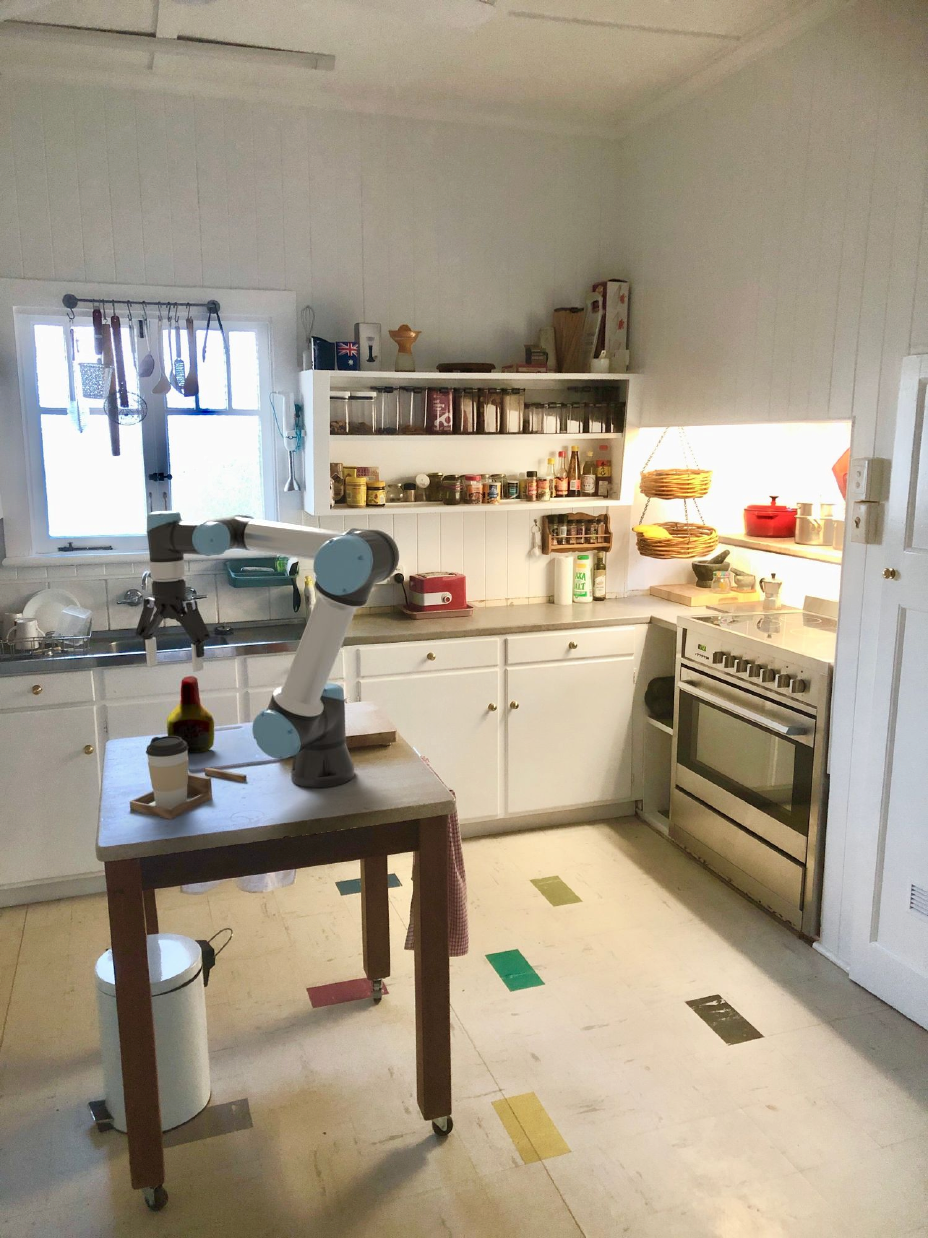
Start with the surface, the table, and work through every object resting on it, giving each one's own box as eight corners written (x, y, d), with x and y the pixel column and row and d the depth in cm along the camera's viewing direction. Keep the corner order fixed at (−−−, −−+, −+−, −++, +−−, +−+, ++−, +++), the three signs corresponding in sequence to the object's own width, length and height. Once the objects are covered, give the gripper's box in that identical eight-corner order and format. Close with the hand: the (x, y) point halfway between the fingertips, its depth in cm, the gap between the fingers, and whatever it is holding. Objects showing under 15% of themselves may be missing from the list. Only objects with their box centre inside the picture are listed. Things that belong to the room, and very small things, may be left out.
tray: (212, 798, 216) (210, 777, 215) (171, 819, 205) (169, 797, 204) (172, 790, 221) (170, 769, 220) (130, 810, 210) (128, 788, 209)
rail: (246, 780, 227) (246, 775, 226) (243, 782, 226) (243, 776, 225) (207, 773, 232) (207, 767, 232) (205, 774, 231) (204, 768, 231)
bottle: (218, 746, 251) (213, 673, 247) (211, 755, 245) (206, 680, 241) (173, 747, 251) (168, 674, 247) (165, 755, 245) (159, 680, 241)
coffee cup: (199, 796, 216) (195, 733, 213) (179, 812, 207) (174, 746, 204) (163, 793, 218) (158, 731, 215) (142, 809, 210) (136, 744, 207)
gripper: (222, 579, 217) (228, 669, 221) (138, 573, 227) (145, 659, 231) (200, 584, 210) (207, 676, 214) (114, 578, 220) (122, 667, 225)
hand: (175, 668), depth 223 cm, fingers open, 13 cm apart
